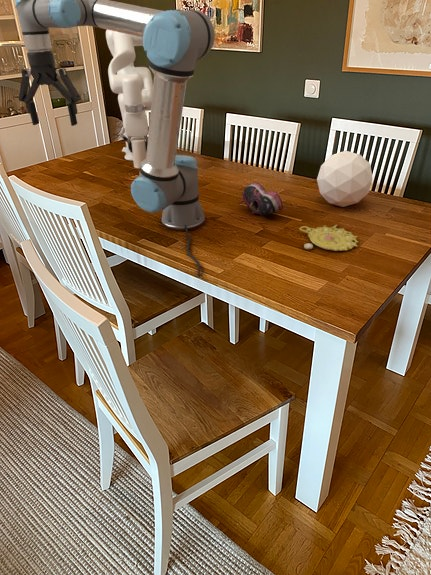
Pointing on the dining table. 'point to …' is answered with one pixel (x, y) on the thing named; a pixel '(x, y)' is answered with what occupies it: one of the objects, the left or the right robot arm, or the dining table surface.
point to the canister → (138, 151)
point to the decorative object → (330, 238)
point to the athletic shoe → (261, 200)
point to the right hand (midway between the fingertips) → (55, 124)
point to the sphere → (344, 178)
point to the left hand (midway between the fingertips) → (139, 150)
